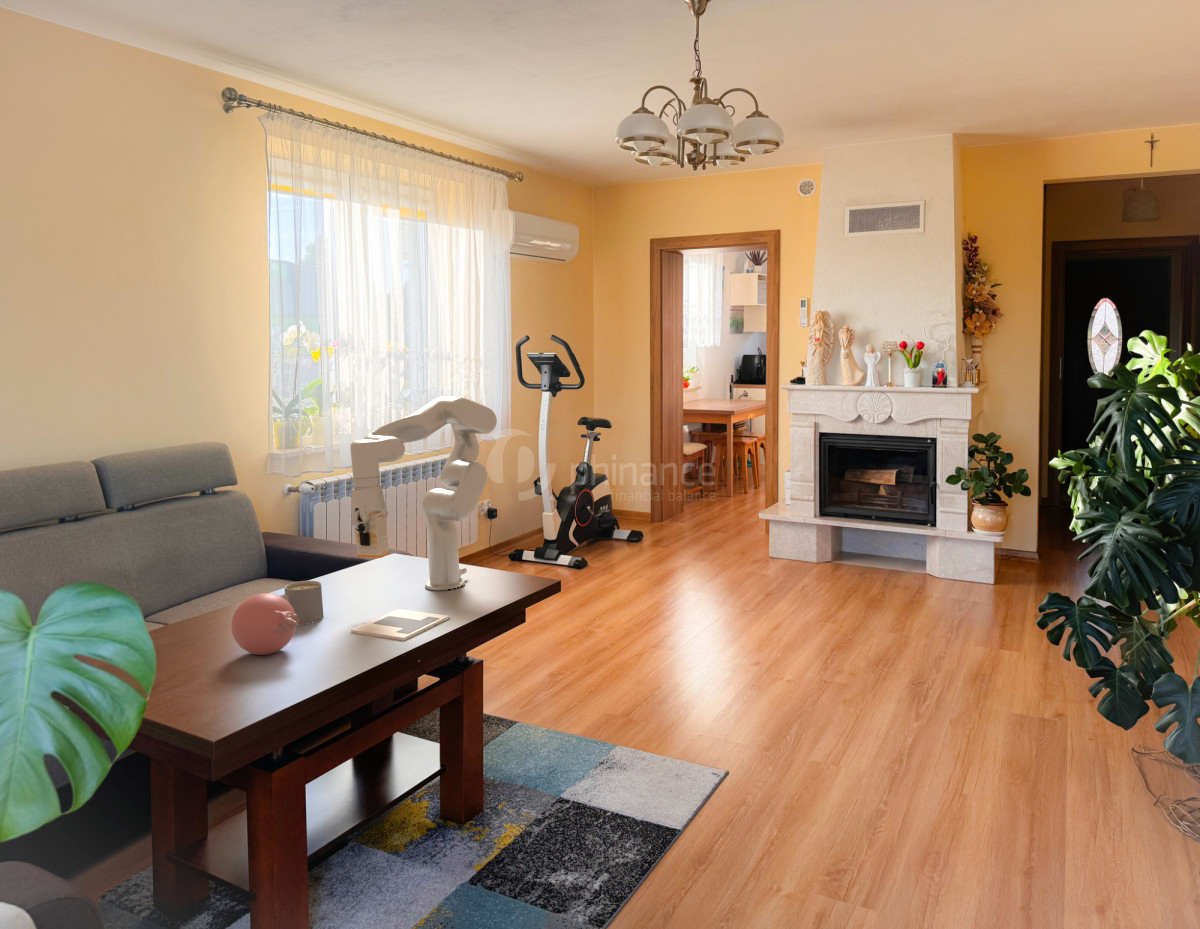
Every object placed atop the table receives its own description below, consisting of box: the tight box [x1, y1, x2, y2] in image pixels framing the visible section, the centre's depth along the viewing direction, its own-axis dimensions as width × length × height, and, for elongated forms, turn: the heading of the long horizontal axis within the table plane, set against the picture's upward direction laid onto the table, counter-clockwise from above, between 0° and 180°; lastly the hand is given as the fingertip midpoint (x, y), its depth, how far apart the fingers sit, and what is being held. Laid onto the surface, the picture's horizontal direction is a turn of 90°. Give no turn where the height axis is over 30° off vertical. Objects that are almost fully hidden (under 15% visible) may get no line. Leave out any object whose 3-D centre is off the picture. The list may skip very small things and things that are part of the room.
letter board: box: [350, 608, 450, 642], centre depth 240 cm, size 20×18×1 cm
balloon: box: [230, 592, 299, 656], centre depth 218 cm, size 15×20×15 cm
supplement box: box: [354, 511, 390, 559], centre depth 254 cm, size 8×5×13 cm, turn 71°
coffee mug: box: [279, 580, 324, 625], centre depth 247 cm, size 13×10×10 cm
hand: (372, 542), depth 254 cm, fingers closed on supplement box, 5 cm apart
